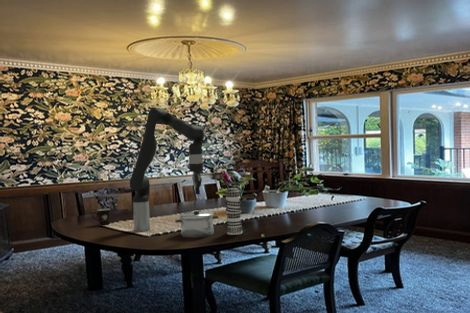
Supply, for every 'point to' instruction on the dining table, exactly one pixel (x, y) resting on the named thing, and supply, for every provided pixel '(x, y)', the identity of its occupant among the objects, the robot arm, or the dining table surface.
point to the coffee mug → (103, 216)
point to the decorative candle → (233, 211)
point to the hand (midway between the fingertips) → (197, 194)
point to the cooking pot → (197, 227)
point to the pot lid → (196, 214)
